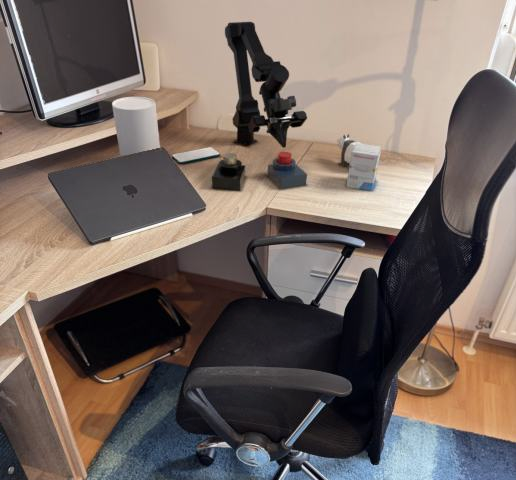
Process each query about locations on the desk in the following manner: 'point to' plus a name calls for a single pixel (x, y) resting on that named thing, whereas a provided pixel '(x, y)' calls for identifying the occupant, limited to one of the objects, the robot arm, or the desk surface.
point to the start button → (284, 158)
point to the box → (286, 175)
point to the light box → (228, 176)
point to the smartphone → (195, 155)
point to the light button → (230, 159)
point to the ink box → (363, 166)
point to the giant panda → (346, 149)
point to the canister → (136, 124)
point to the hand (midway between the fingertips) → (284, 147)
